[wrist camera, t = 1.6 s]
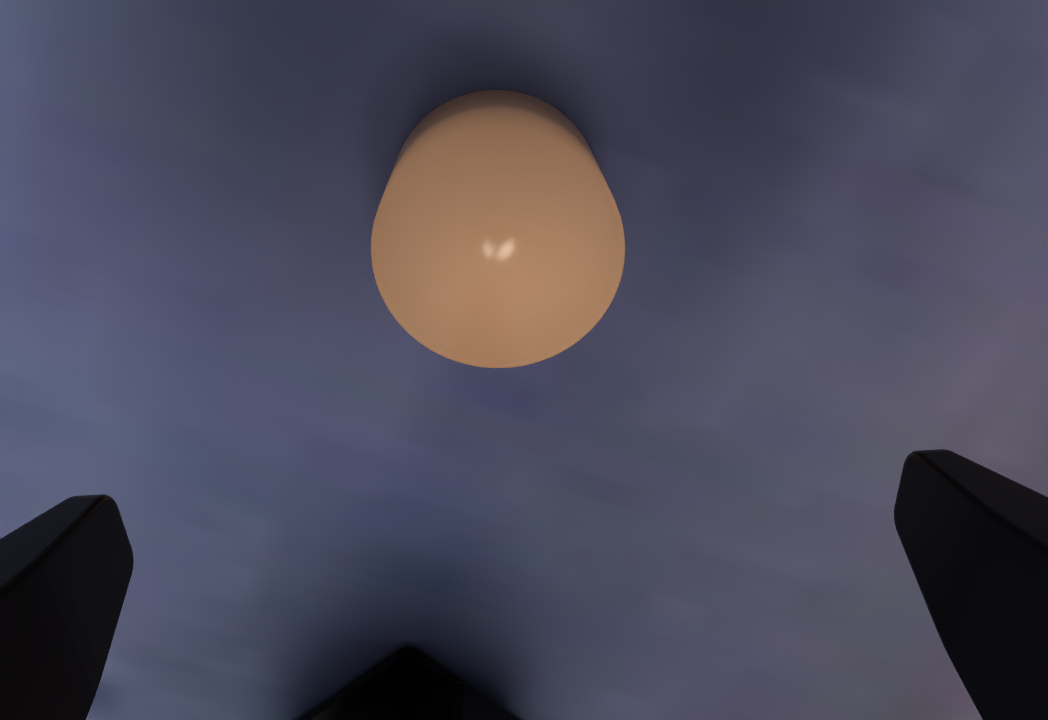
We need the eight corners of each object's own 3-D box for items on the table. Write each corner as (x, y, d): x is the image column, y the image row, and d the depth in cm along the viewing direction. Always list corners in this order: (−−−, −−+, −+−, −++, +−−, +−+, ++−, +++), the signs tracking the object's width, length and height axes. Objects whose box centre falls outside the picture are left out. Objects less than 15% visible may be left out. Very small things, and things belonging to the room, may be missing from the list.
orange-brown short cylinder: (490, 330, 21) (490, 410, 18) (347, 190, 20) (317, 248, 16) (642, 204, 20) (675, 264, 16) (504, 40, 18) (508, 68, 15)
